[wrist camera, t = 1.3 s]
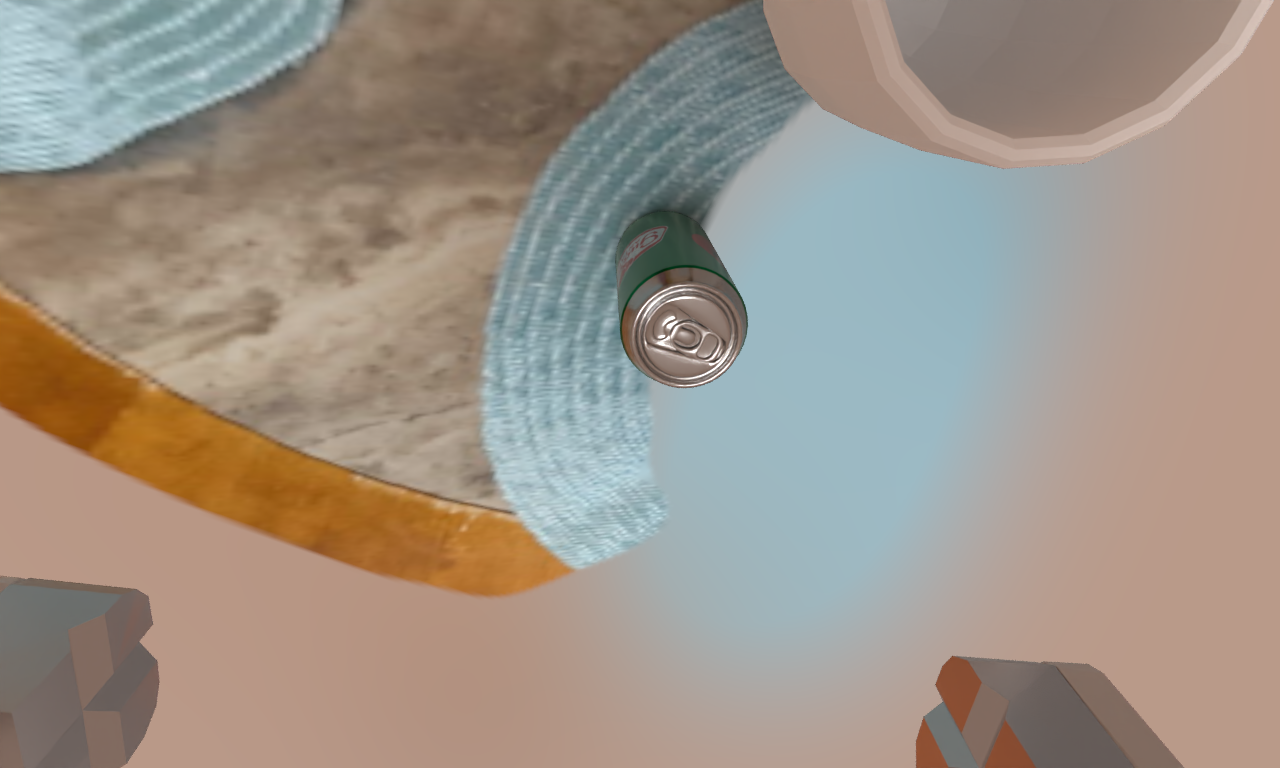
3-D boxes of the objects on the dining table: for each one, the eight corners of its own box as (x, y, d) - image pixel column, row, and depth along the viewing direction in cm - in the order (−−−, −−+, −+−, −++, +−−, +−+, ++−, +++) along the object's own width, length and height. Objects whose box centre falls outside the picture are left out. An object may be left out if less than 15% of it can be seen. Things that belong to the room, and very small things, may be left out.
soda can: (641, 191, 38) (658, 249, 27) (728, 235, 39) (777, 307, 28) (599, 278, 40) (598, 366, 29) (683, 318, 41) (713, 416, 30)
